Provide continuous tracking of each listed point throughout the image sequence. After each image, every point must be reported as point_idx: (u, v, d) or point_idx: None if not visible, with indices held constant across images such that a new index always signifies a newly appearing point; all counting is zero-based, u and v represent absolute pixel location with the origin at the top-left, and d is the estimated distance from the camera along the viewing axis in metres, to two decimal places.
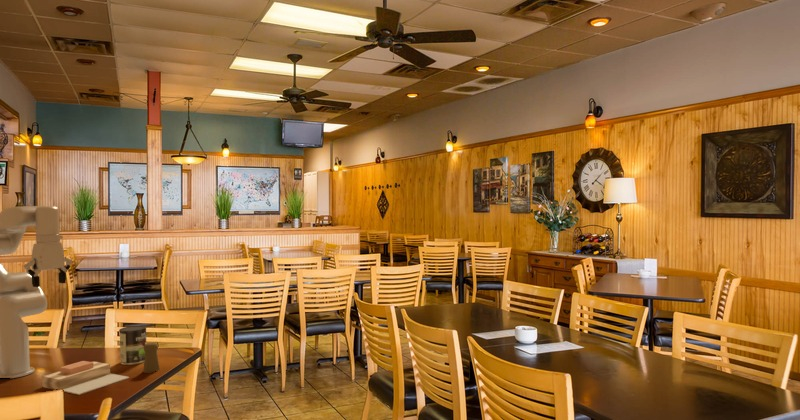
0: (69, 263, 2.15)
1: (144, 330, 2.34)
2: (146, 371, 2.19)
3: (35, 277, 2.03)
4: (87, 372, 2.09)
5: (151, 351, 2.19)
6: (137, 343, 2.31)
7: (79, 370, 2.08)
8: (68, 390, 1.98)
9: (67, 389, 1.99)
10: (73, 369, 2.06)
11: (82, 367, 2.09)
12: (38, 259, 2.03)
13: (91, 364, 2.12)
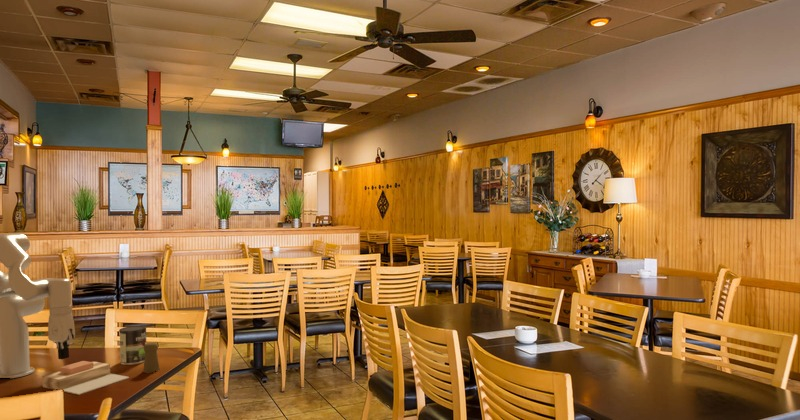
0: None
1: (144, 330, 2.34)
2: (146, 371, 2.19)
3: None
4: (87, 372, 2.09)
5: (151, 351, 2.19)
6: (137, 343, 2.31)
7: (79, 370, 2.08)
8: (68, 390, 1.98)
9: (67, 389, 1.99)
10: (73, 369, 2.06)
11: (82, 367, 2.09)
12: (74, 328, 2.14)
13: (91, 364, 2.12)
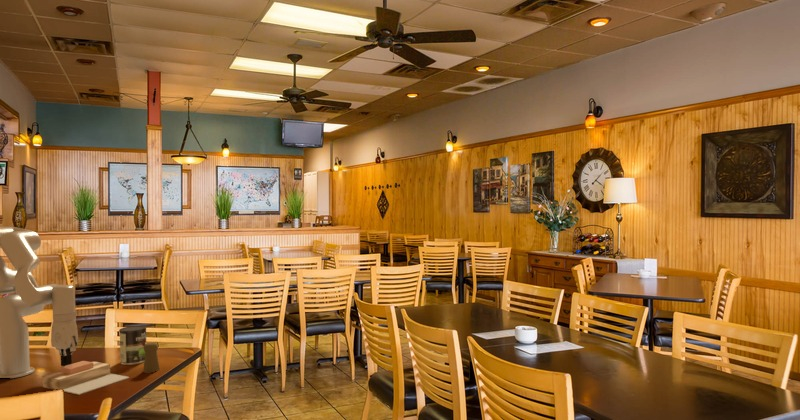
0: None
1: (144, 330, 2.34)
2: (146, 371, 2.19)
3: None
4: (87, 372, 2.09)
5: (151, 351, 2.19)
6: (137, 343, 2.31)
7: (79, 370, 2.08)
8: (68, 390, 1.98)
9: (67, 389, 1.99)
10: (73, 369, 2.06)
11: (82, 367, 2.09)
12: (77, 335, 2.13)
13: (91, 364, 2.12)
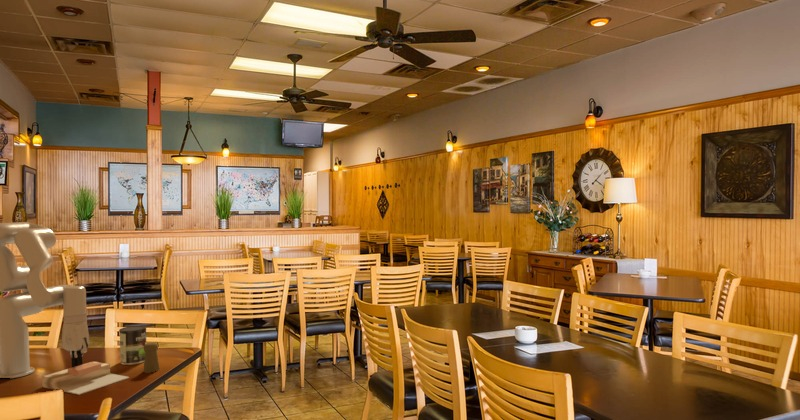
0: None
1: (144, 330, 2.34)
2: (146, 371, 2.19)
3: None
4: None
5: (151, 351, 2.19)
6: (137, 343, 2.31)
7: (87, 372, 2.06)
8: (68, 390, 1.98)
9: (67, 389, 1.99)
10: (81, 370, 2.04)
11: (90, 368, 2.07)
12: (88, 337, 2.10)
13: (99, 365, 2.11)
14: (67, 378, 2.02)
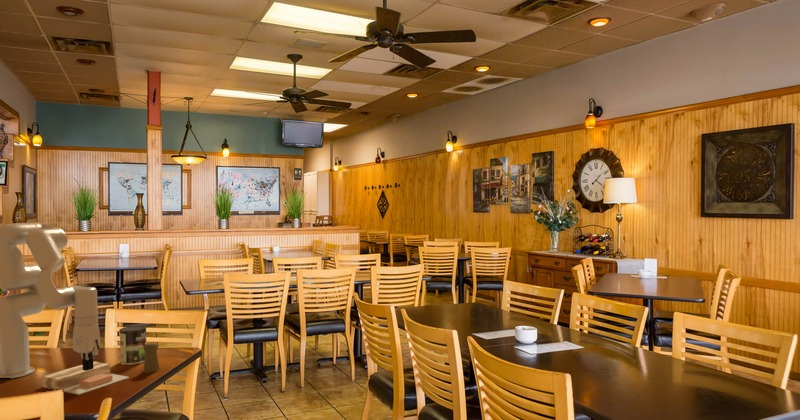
0: None
1: (144, 330, 2.34)
2: (146, 371, 2.19)
3: None
4: (87, 372, 2.09)
5: (151, 351, 2.19)
6: (137, 343, 2.31)
7: None
8: (68, 390, 1.98)
9: (67, 389, 1.99)
10: None
11: None
12: (99, 339, 2.07)
13: None
14: (67, 378, 2.02)
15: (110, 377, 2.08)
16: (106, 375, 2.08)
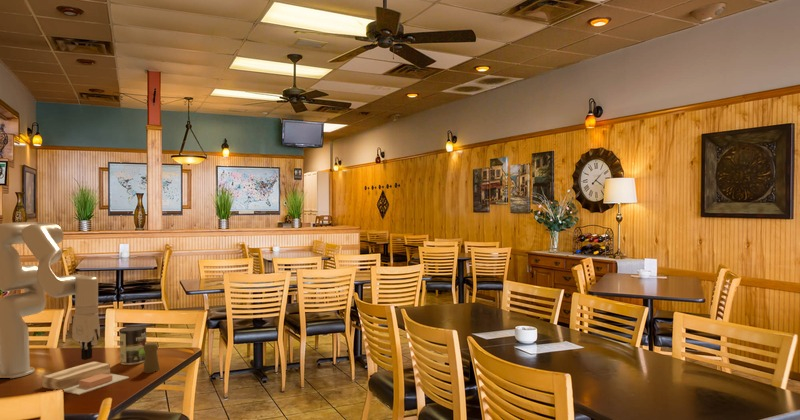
0: None
1: (144, 330, 2.34)
2: (146, 371, 2.19)
3: None
4: (87, 372, 2.09)
5: (151, 351, 2.19)
6: (137, 343, 2.31)
7: None
8: (68, 390, 1.98)
9: (67, 389, 1.99)
10: None
11: None
12: (99, 329, 2.07)
13: None
14: (67, 378, 2.02)
15: (110, 377, 2.08)
16: (106, 375, 2.08)
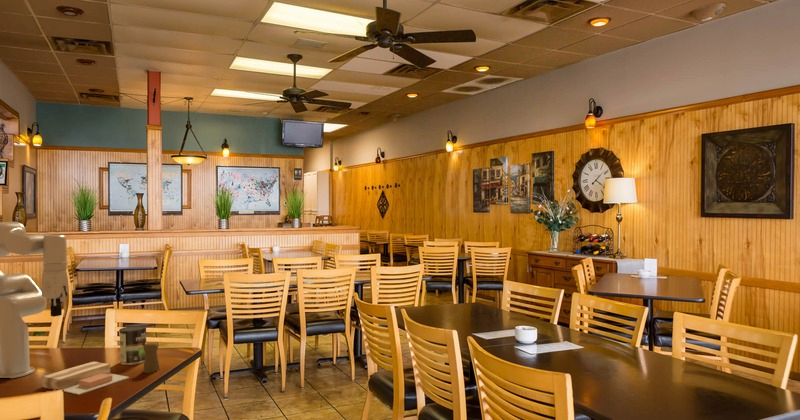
0: None
1: (144, 330, 2.34)
2: (146, 371, 2.19)
3: None
4: (87, 372, 2.09)
5: (151, 351, 2.19)
6: (137, 343, 2.31)
7: None
8: (68, 390, 1.98)
9: (67, 389, 1.99)
10: None
11: None
12: None
13: None
14: (67, 378, 2.02)
15: (110, 377, 2.08)
16: (106, 375, 2.08)
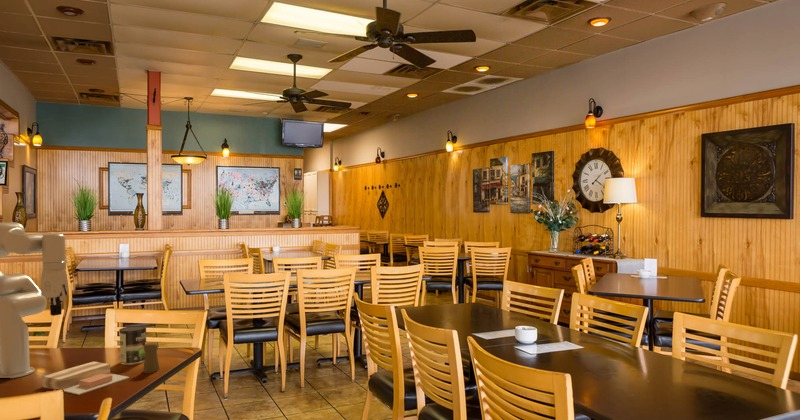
0: None
1: (144, 330, 2.34)
2: (146, 371, 2.19)
3: None
4: (87, 372, 2.09)
5: (151, 351, 2.19)
6: (137, 343, 2.31)
7: None
8: (68, 390, 1.98)
9: (67, 389, 1.99)
10: None
11: None
12: (67, 284, 2.10)
13: None
14: (67, 378, 2.02)
15: (110, 377, 2.08)
16: (106, 375, 2.08)
